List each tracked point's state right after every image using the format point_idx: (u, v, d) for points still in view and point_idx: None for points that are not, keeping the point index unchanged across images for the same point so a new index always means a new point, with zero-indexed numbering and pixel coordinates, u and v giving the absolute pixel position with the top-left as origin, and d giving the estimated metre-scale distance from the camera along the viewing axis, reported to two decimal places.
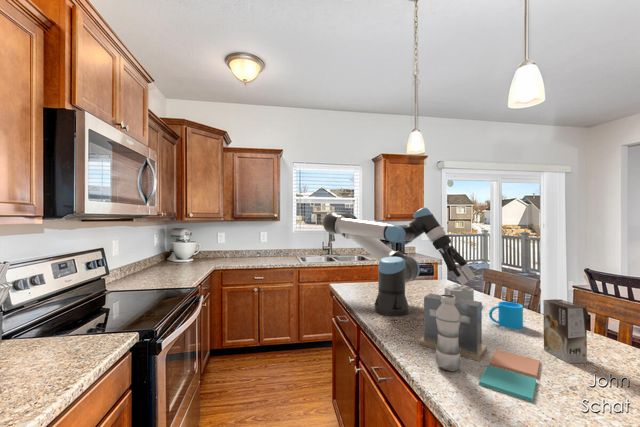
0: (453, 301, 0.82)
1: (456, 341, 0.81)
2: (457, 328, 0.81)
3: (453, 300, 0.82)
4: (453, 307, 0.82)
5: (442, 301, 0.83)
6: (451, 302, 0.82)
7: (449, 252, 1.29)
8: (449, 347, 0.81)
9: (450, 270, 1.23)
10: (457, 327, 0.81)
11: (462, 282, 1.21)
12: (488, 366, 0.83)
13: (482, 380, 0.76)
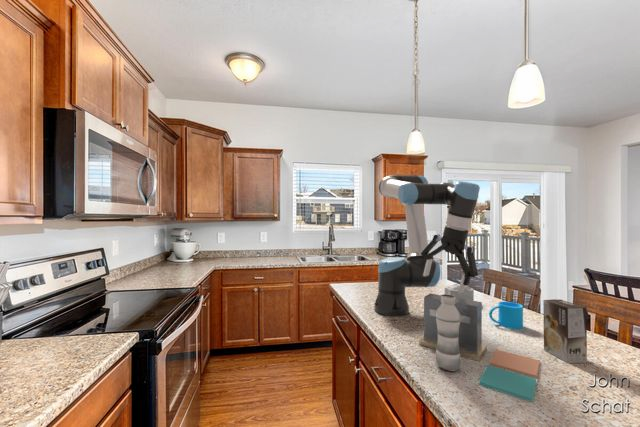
0: (453, 301, 0.82)
1: (456, 341, 0.81)
2: (457, 328, 0.81)
3: (453, 300, 0.82)
4: (453, 307, 0.82)
5: (442, 301, 0.83)
6: (451, 302, 0.82)
7: None
8: (449, 347, 0.81)
9: (467, 276, 0.99)
10: (457, 327, 0.81)
11: (461, 291, 1.01)
12: (488, 366, 0.83)
13: (482, 380, 0.76)
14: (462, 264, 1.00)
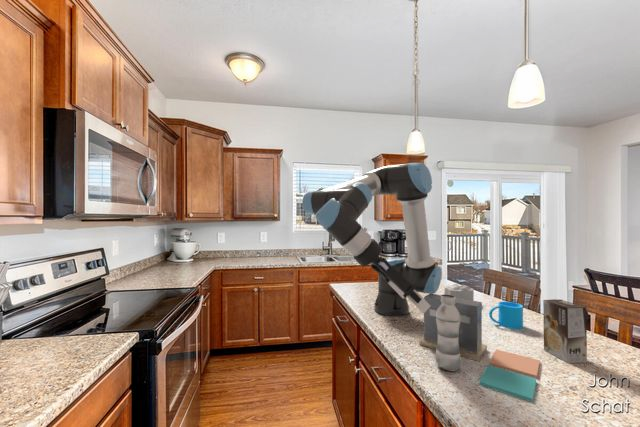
0: (453, 301, 0.82)
1: (456, 341, 0.81)
2: (457, 328, 0.81)
3: (453, 300, 0.82)
4: (453, 307, 0.82)
5: (442, 301, 0.83)
6: (451, 302, 0.82)
7: None
8: (449, 347, 0.81)
9: (406, 295, 0.74)
10: (457, 327, 0.81)
11: (423, 309, 0.75)
12: (488, 366, 0.83)
13: (482, 380, 0.76)
14: (394, 283, 0.76)
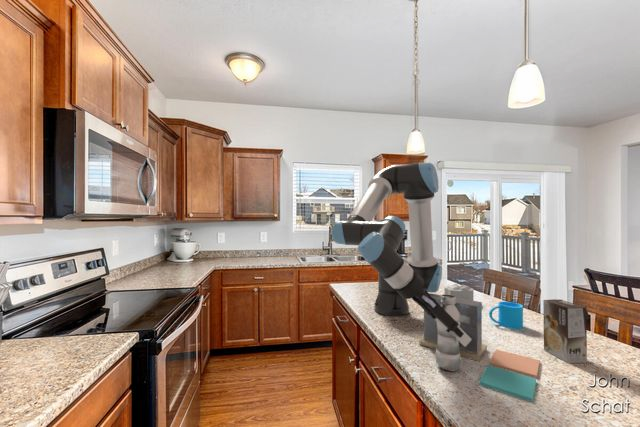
0: (453, 301, 0.82)
1: (456, 341, 0.81)
2: None
3: (453, 300, 0.82)
4: (453, 307, 0.82)
5: (442, 301, 0.83)
6: (451, 302, 0.82)
7: None
8: (449, 347, 0.81)
9: (449, 331, 0.78)
10: None
11: (465, 342, 0.80)
12: (488, 366, 0.83)
13: (482, 380, 0.76)
14: None
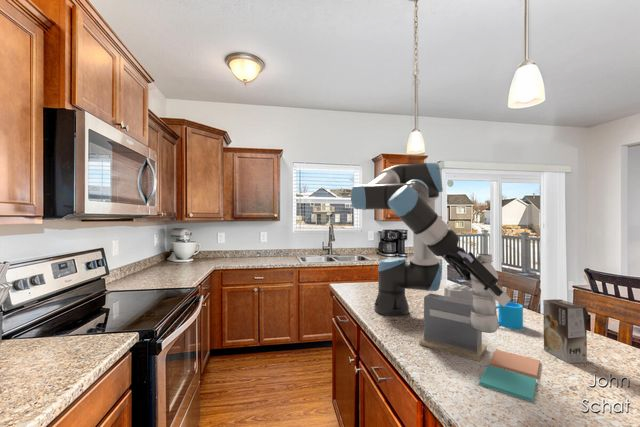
0: (490, 259, 0.77)
1: (493, 301, 0.76)
2: None
3: (490, 258, 0.77)
4: (490, 265, 0.77)
5: (478, 259, 0.78)
6: (488, 260, 0.77)
7: None
8: (486, 308, 0.76)
9: (488, 288, 0.73)
10: None
11: (504, 302, 0.75)
12: (488, 366, 0.83)
13: (482, 380, 0.76)
14: (474, 275, 0.75)
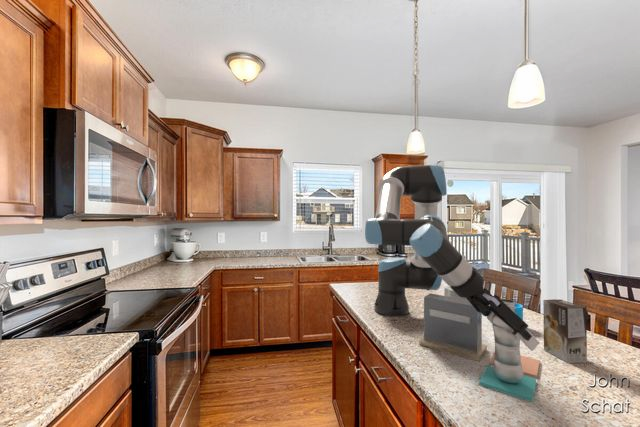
0: (513, 306, 0.75)
1: (518, 350, 0.74)
2: None
3: (513, 305, 0.74)
4: None
5: None
6: (511, 307, 0.74)
7: None
8: (511, 357, 0.73)
9: (516, 333, 0.70)
10: None
11: (532, 346, 0.71)
12: (488, 366, 0.83)
13: (482, 380, 0.76)
14: (501, 318, 0.72)
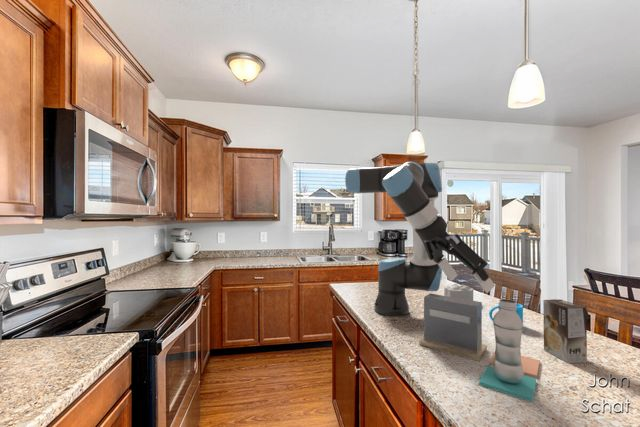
0: (515, 307, 0.74)
1: (519, 351, 0.74)
2: (520, 336, 0.74)
3: (515, 306, 0.74)
4: (515, 313, 0.74)
5: (502, 307, 0.76)
6: (513, 308, 0.74)
7: None
8: (511, 358, 0.73)
9: (475, 272, 0.71)
10: (520, 335, 0.73)
11: (488, 288, 0.73)
12: (488, 366, 0.83)
13: (482, 380, 0.76)
14: (461, 260, 0.73)
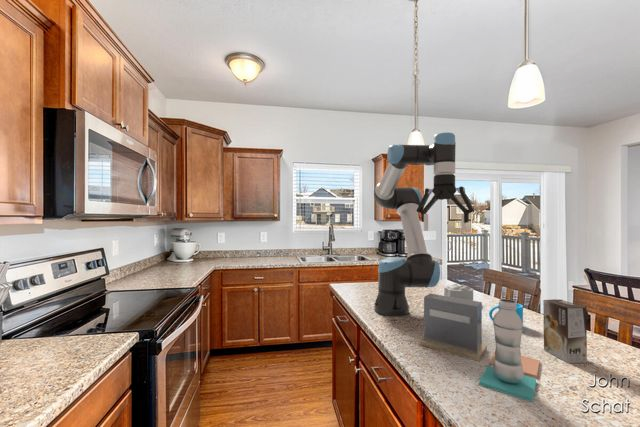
0: (515, 307, 0.75)
1: (519, 351, 0.74)
2: (520, 336, 0.74)
3: (515, 305, 0.74)
4: (515, 313, 0.74)
5: (502, 306, 0.76)
6: (513, 308, 0.74)
7: (452, 195, 1.12)
8: (511, 358, 0.73)
9: (467, 212, 1.06)
10: (520, 335, 0.74)
11: (464, 230, 1.08)
12: (488, 366, 0.83)
13: (482, 380, 0.76)
14: (458, 204, 1.08)
